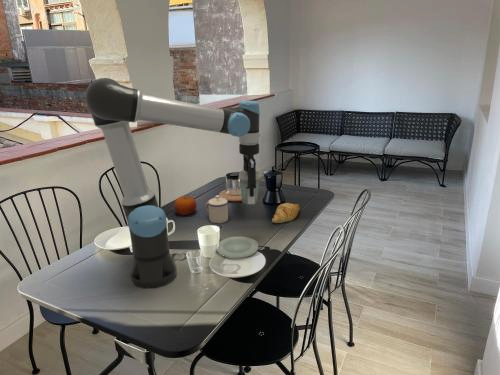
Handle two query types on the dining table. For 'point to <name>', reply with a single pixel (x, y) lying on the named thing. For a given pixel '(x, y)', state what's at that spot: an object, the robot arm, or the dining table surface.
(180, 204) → the fruit
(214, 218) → the teacup with lid
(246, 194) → the coffee cup
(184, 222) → the dining table surface
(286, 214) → the croissant
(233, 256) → the saucer
